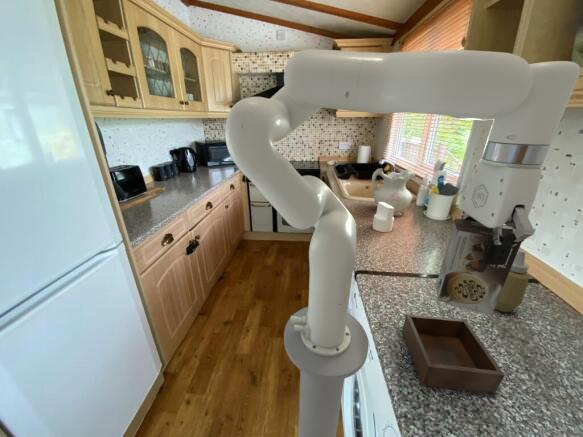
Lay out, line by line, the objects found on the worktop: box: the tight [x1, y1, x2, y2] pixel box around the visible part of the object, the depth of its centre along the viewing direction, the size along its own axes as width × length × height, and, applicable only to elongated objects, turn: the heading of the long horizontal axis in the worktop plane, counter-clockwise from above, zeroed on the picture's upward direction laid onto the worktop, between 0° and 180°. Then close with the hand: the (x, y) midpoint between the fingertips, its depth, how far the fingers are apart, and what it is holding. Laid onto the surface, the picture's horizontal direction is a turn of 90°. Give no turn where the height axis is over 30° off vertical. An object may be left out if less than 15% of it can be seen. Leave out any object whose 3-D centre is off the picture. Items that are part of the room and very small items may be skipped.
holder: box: [401, 314, 505, 395], centre depth 53 cm, size 14×14×6 cm
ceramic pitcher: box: [371, 167, 416, 217], centre depth 134 cm, size 22×20×25 cm
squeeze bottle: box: [494, 249, 530, 313], centre depth 67 cm, size 8×8×18 cm
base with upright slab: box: [372, 202, 395, 233], centre depth 116 cm, size 9×9×12 cm
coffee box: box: [435, 217, 523, 316], centre depth 46 cm, size 9×6×16 cm
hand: (478, 250), depth 45 cm, fingers closed on coffee box, 7 cm apart
